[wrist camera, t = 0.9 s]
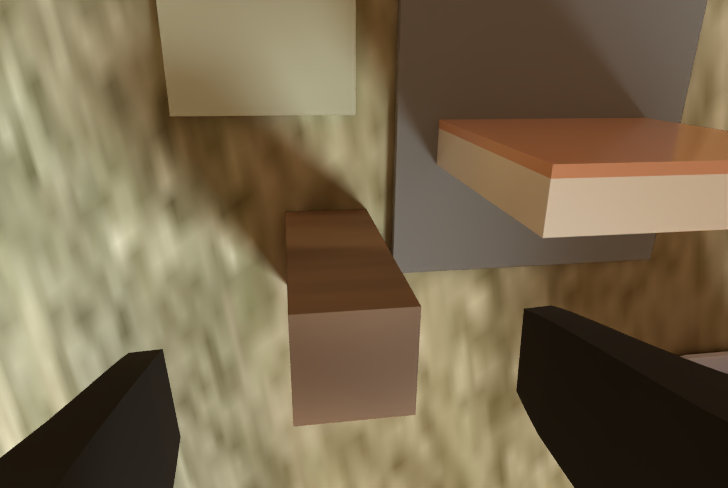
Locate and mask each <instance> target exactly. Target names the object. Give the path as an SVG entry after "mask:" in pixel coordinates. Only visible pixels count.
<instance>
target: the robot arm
mask: <svg viewBox="0 0 728 488" xmlns="http://www.w3.org/2000/svg"><path fill="white" fill-rule="evenodd" d="M517 393H518V395H519V397H520V399H521V401H522V403H523V406H524V408H525V410H526V412H527V414H528V416H529V418H530V420H531V422H532V423H533V425H534V427H535V429H536V431H537V433H538V435H539V436H540V438H541V439H542V441H543V442H544V444H545V445H546V447H547V448H548V450H549V451H550V453H551V454H552V456H553V457H554V459H555V460H556V461H557V463H558V464H559V466H560V467H561V469H562V470H563V472H564V473H565V475H566V476H567V478H568V479H569V480H570V482H571V483H572V485H573V486H574V488H728V351H726V352H714V353H702V354H691V355H683V356H677V355H675V354H672V353H670V352H667V351H665V350H662V349H660V348H657V347H655V346H652V345H650V344H647V343H645V342H643V341H640V340H638V339H635V338H633V337H631V336H628V335H626V334H623V333H621V332H619V331H616V330H614V329H612V328H609V327H607V326H604V325H602V324H600V323H597V322H595V321H593V320H590V319H588V318H585V317H583V316H580V315H578V314H575V313H572V312H570V311H567V310H564V309H561V308H558V307H555V306H544V307H535V308H526V309H524V314H523V325H522V336H521V347H520V358H519V369H518V380H517ZM179 443H180V432H179V428H178V423H177V418H176V413H175V408H174V403H173V398H172V393H171V388H170V383H169V378H168V373H167V368H166V363H165V359H164V354H163V349H160V350H151V351H142V352H133V353H128V354H127V355H125V356H124V357H123V358H121V359H120V360H119V361H117V362H116V363H115V364H114V365H113V366H111V367H110V368H109V369H108V370H107V371H106V372H104V373H103V374H102V375H101V376H100V377H99V378H97V379H96V380H95V381H94V382H93V383H92V384H90V385H89V386H88V387H87V388H86V389H85V390H83V391H82V392H81V393H80V394H79V395H78V396H76V397H75V398H74V399H73V400H72V401H70V402H69V403H68V404H67V405H66V406H65V407H63V408H62V409H61V410H60V411H59V412H57V413H56V414H55V415H54V416H53V417H52V418H50V419H49V420H48V421H47V422H46V423H44V424H43V425H42V426H40V427H39V428H38V429H37V430H35V431H34V432H33V433H31V434H30V435H29V436H28V437H26V438H25V439H24V440H23V441H21V442H20V443H19V444H17V445H16V446H15V447H14V448H12V449H11V450H10V451H8V452H7V453H6V454H5V455H3V456H2V457H1V458H0V488H173V485H174V478H175V472H176V466H177V458H178V451H179Z"/></svg>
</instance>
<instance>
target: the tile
mask: <svg viewBox="0 0 728 488" xmlns="http://www.w3.org/2000/svg"><path fill="white" fill-rule="evenodd" d="M437 165H438V166H439V167H441V168H442V169H444V170H445V171H446V172H448V173H449V174H451V175H452V176H454V177H455V178H457V179H458V180H459V181H461V182H462V183H464V184H465V185H467V186H468V187H470V188H471V189H472V190H474V191H475V192H477V193H478V194H480V195H481V196H483V197H484V198H486V199H487V200H488V201H490V202H491V203H493V204H494V205H496V206H497V207H499V208H500V209H501V210H503V211H504V212H506V213H507V214H509V215H510V216H512V217H513V218H514V219H516V220H517V221H519V222H520V223H522V224H523V225H525V226H526V227H527V228H529V229H530V230H532V231H533V232H535V233H536V234H538V235H539V236H541V237H542V238H553V237H575V236H597V235H619V234H640V233H662V232H684V231H706V230H727V229H728V131H723V130H717V129H711V128H705V127H699V126H693V125H687V124H681V123H675V122H669V121H663V120H657V119H651V118H557V119H448V120H439V134H438V151H437Z"/></svg>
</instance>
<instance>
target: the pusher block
mask: <svg viewBox="0 0 728 488" xmlns="http://www.w3.org/2000/svg"><path fill="white" fill-rule="evenodd" d="M285 220H286V256H287V292H288V323H289V343H290V364H291V384H292V405H293V426H303V425H313V424H324V423H334V422H345V421H355V420H365V419H376V418H386V417H396V416H407V415H415V412H416V393H417V374H418V355H419V336H420V317H421V305H420V304H419V302H418V300H417V298H416V297H415V295H414V293H413V291H412V289H411V288H410V286H409V284H408V282H407V281H406V279H405V277H404V275H403V273H402V272H401V270H400V268H399V266H398V265H397V263H396V261H395V259H394V257H393V256H392V254H391V252H390V250H389V249H388V247H387V245H386V243H385V241H384V240H383V238H382V236H381V234H380V233H379V231H378V229H377V227H376V225H375V224H374V222H373V220H372V218H371V217H370V215H369V213H368V211H367V209H352V210H323V211H295V212H285Z"/></svg>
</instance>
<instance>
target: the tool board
mask: <svg viewBox="0 0 728 488" xmlns="http://www.w3.org/2000/svg"><path fill="white" fill-rule="evenodd" d="M156 4H157V13H158V21H159V29H160V38H161V46H162V54H163V62H164V71H165V79H166V87H167V95H168V104H169V112H170V116H288V115H356V0H156Z"/></svg>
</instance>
